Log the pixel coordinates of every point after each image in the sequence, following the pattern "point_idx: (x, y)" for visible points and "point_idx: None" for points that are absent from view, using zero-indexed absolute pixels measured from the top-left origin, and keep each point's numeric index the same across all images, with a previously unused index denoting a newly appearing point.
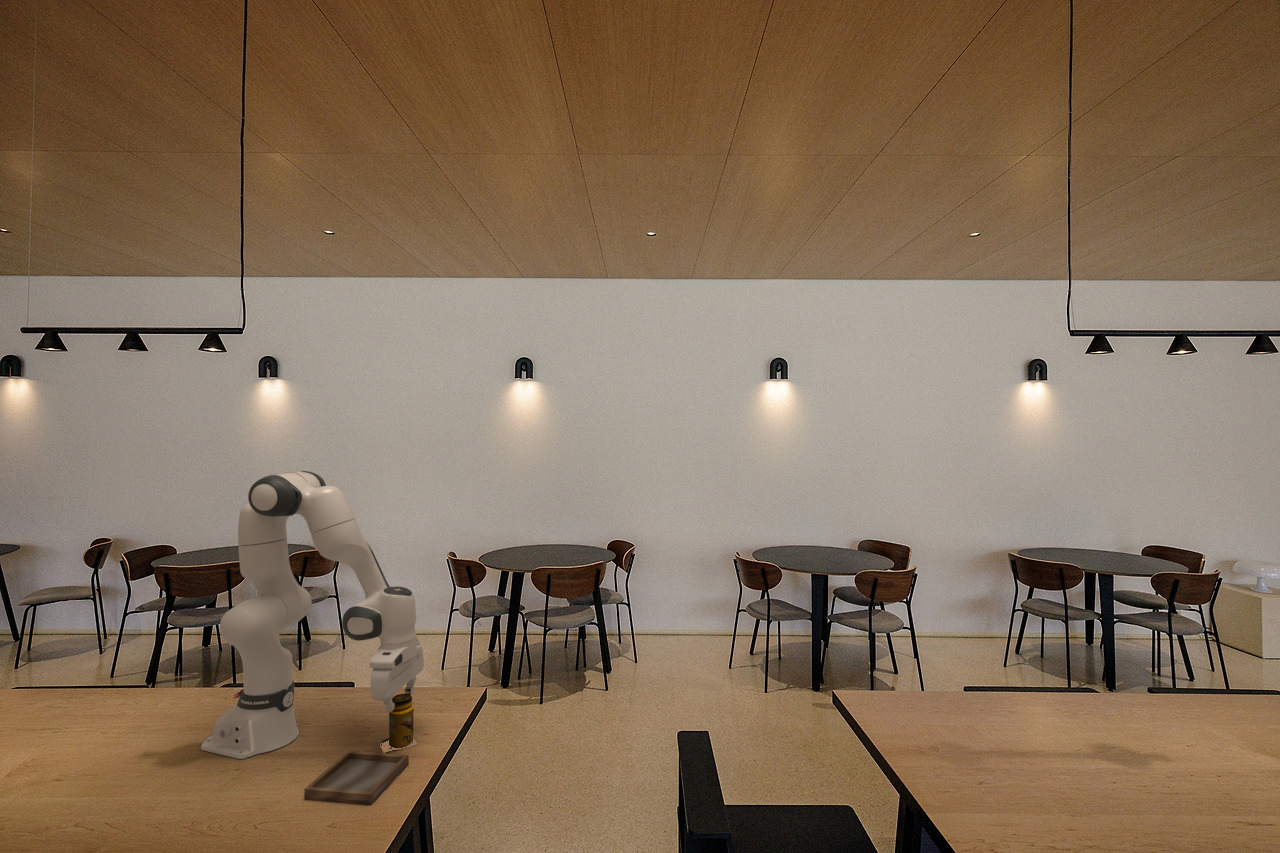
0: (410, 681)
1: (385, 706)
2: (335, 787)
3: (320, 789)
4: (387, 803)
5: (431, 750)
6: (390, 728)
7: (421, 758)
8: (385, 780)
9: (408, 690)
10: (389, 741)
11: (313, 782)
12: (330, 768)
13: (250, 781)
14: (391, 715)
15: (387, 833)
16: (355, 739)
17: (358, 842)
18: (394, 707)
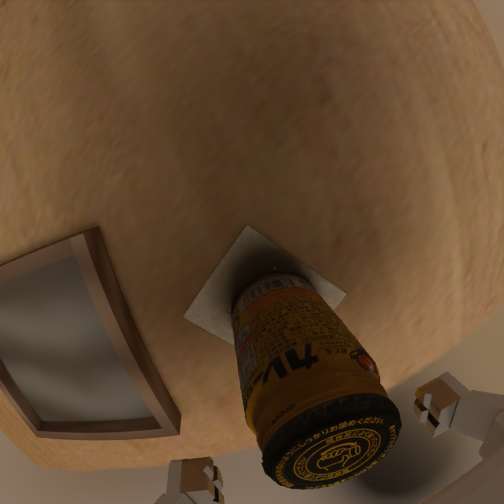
0: (486, 425)
1: (167, 484)
2: (4, 330)
3: None
4: (68, 442)
5: None
6: (239, 344)
7: (222, 421)
8: (77, 438)
9: (430, 423)
10: (239, 302)
11: None
12: (2, 274)
13: None
14: (244, 396)
15: (44, 464)
16: (226, 115)
17: (11, 441)
18: (217, 486)
